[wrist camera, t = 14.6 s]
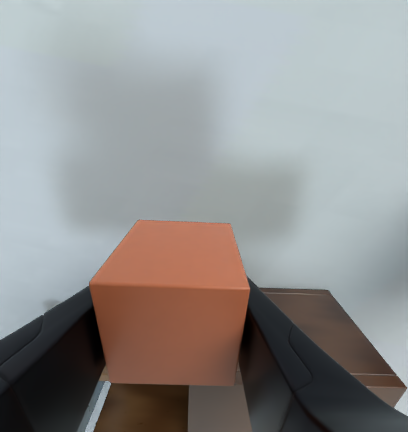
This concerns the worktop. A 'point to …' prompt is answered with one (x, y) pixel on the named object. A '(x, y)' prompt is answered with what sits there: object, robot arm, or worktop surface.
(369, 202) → the worktop surface
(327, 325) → the cabinet
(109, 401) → the drawer
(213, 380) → the block
